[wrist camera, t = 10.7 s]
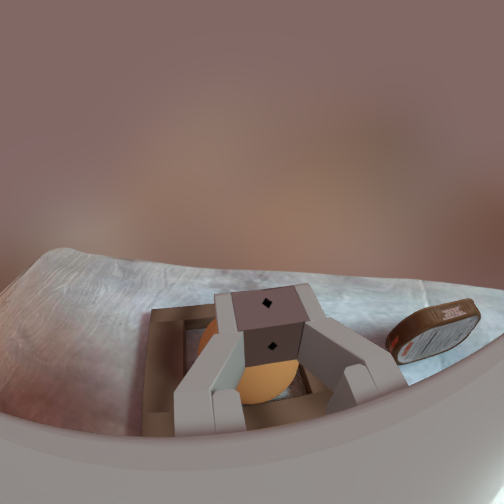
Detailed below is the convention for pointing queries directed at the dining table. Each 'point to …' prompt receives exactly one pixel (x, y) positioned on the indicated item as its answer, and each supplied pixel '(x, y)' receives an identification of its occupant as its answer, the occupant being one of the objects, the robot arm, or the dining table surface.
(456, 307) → the tin
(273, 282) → the dining table surface
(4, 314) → the dining table surface
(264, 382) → the ball
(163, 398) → the board
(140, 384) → the dining table surface
